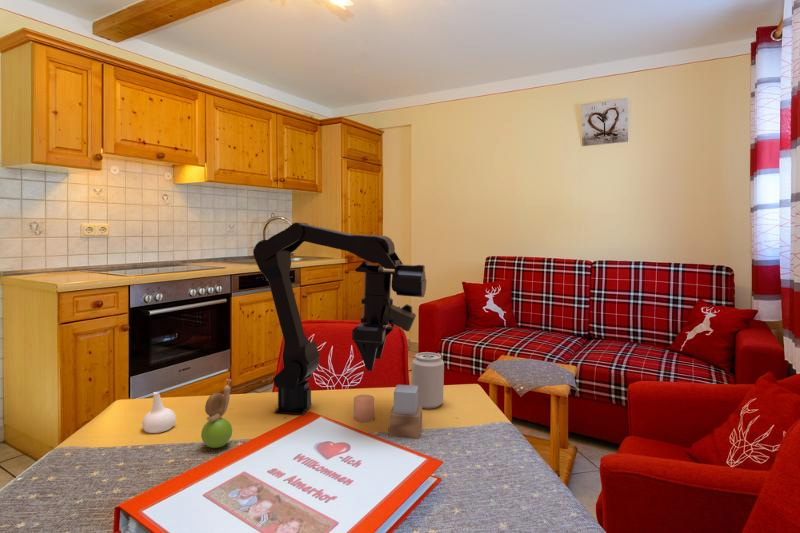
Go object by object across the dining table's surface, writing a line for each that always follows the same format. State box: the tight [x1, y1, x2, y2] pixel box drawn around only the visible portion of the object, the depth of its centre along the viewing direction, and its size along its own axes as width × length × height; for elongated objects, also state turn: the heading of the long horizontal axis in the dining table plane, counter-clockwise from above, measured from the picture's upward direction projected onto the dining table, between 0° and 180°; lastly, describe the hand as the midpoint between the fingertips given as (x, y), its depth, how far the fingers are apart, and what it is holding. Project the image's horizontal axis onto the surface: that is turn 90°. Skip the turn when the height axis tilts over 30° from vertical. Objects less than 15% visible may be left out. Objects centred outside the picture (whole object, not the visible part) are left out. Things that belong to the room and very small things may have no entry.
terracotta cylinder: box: [353, 394, 375, 423], centre depth 103 cm, size 4×4×4 cm
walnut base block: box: [388, 404, 423, 440], centre depth 96 cm, size 6×6×4 cm
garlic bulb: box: [141, 391, 177, 434], centre depth 96 cm, size 6×6×8 cm
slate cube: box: [393, 384, 418, 415], centre depth 96 cm, size 4×4×4 cm
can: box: [411, 351, 445, 410], centre depth 111 cm, size 8×8×12 cm
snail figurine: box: [200, 378, 233, 449], centre depth 88 cm, size 5×6×12 cm
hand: (374, 364), depth 102 cm, fingers open, 9 cm apart
